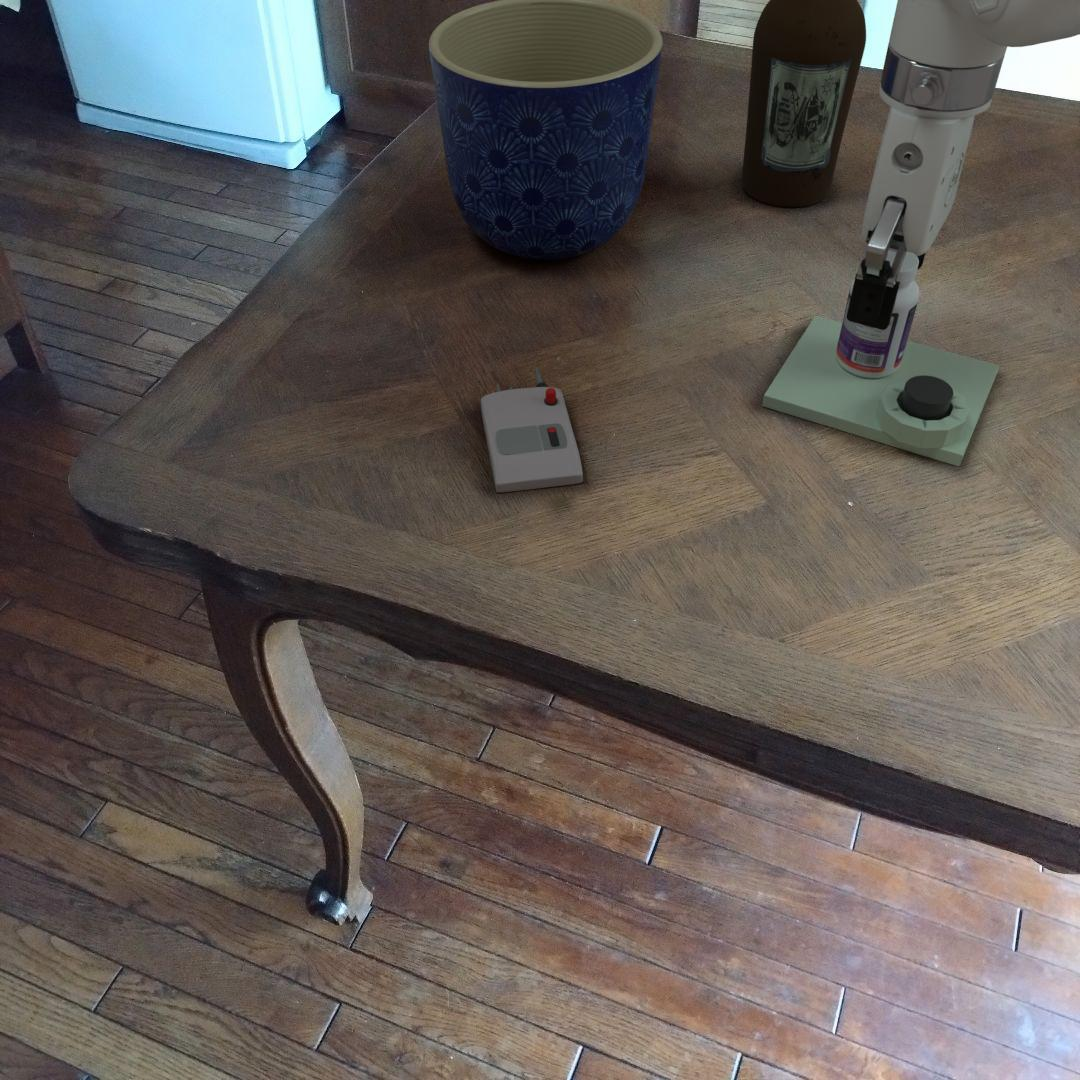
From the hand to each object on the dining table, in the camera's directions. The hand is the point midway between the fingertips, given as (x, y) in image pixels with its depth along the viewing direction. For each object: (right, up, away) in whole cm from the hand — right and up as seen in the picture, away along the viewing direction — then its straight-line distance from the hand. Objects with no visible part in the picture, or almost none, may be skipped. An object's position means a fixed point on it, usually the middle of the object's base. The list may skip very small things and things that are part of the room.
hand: (884, 292), depth 84 cm
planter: (-27, +11, +23) cm, 37 cm away
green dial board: (+1, -7, +4) cm, 8 cm away
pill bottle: (0, -5, +5) cm, 7 cm away
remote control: (-28, -12, 0) cm, 31 cm away
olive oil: (-1, +18, +29) cm, 34 cm away
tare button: (+2, -9, -2) cm, 10 cm away
